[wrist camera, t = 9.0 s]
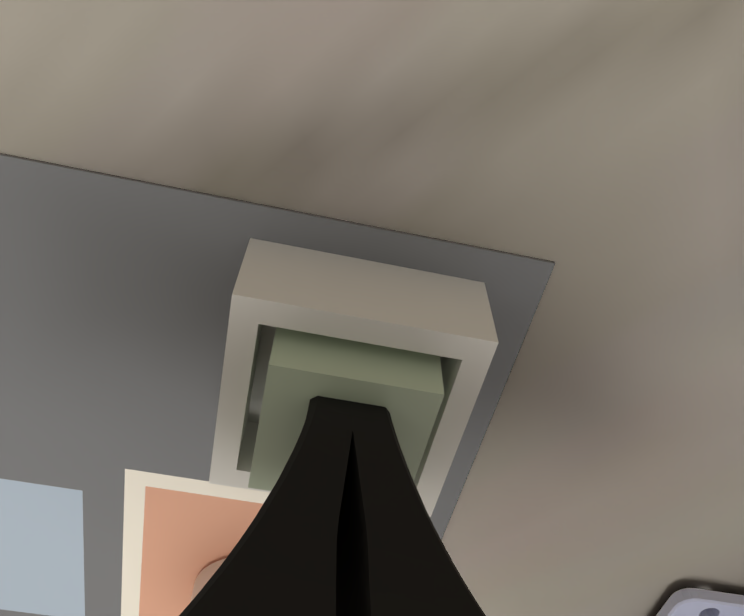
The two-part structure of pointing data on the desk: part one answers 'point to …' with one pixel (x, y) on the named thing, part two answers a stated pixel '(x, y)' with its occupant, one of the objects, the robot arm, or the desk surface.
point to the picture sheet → (158, 377)
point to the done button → (342, 394)
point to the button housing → (352, 322)
